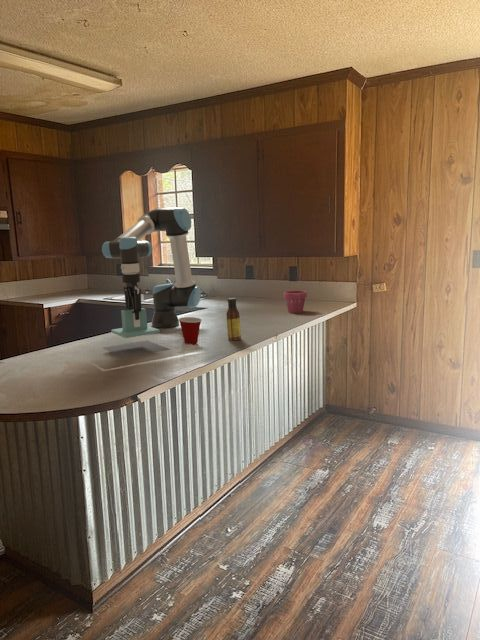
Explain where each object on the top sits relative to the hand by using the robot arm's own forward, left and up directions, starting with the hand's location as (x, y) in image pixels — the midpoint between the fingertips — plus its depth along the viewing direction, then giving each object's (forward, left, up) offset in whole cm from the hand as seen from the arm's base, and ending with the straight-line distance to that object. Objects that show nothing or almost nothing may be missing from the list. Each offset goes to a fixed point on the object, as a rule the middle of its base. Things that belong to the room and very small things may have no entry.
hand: (134, 325), depth 216 cm
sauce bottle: (+12, +45, -11) cm, 48 cm away
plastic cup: (+6, +25, -11) cm, 28 cm away
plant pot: (-27, +119, -11) cm, 122 cm away
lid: (0, 0, -3) cm, 3 cm away
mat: (0, 0, -11) cm, 11 cm away
